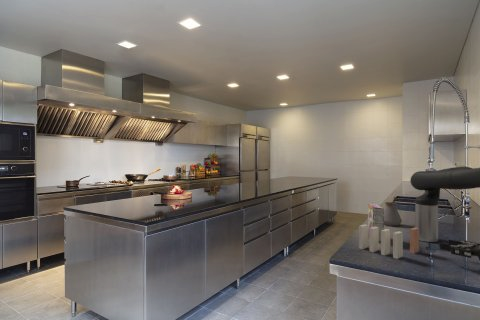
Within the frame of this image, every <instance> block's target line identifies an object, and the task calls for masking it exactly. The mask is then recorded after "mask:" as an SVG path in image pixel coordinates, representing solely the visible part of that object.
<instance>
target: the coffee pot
mask: <svg viewBox="0 0 480 320" xmlns="http://www.w3.org/2000/svg"><path fill="white" fill-rule="evenodd" d="M396 200H398V197H396V196H394V197H393V200H392V202H391V201H390V202H384V204H385V208H384V209H383V217H384V225H385V226H388V227H389V226H390V227H398V226H399V225H400V224H402V222H403V220H402V218H401V215H400V213H399V211H398V209H397V206H398V203H396Z"/></svg>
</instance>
